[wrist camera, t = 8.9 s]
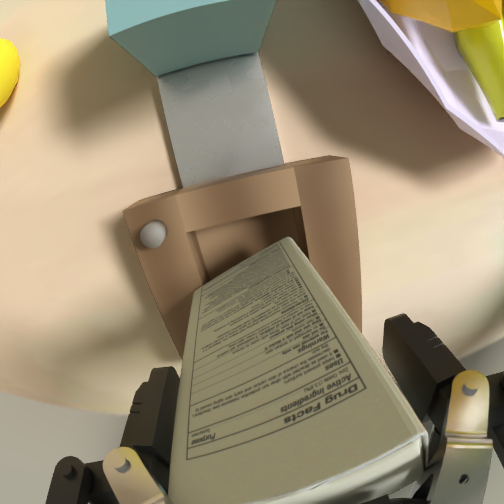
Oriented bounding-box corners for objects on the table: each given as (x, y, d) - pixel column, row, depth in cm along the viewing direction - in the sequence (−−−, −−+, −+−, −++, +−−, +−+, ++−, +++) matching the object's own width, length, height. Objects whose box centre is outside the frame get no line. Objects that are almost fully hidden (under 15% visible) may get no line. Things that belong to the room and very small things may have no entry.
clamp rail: (227, -43, 10) (228, -47, 10) (282, 163, 16) (284, 164, 16) (141, -22, 11) (139, -25, 10) (184, 186, 16) (183, 188, 16)
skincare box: (233, 341, 17) (245, 540, 6) (191, 288, 15) (151, 517, 4) (326, 291, 16) (432, 478, 5) (294, 229, 15) (432, 437, 3)
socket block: (329, 155, 16) (356, 159, 13) (347, 316, 21) (367, 348, 17) (139, 200, 16) (115, 215, 13) (195, 351, 21) (190, 389, 17)
